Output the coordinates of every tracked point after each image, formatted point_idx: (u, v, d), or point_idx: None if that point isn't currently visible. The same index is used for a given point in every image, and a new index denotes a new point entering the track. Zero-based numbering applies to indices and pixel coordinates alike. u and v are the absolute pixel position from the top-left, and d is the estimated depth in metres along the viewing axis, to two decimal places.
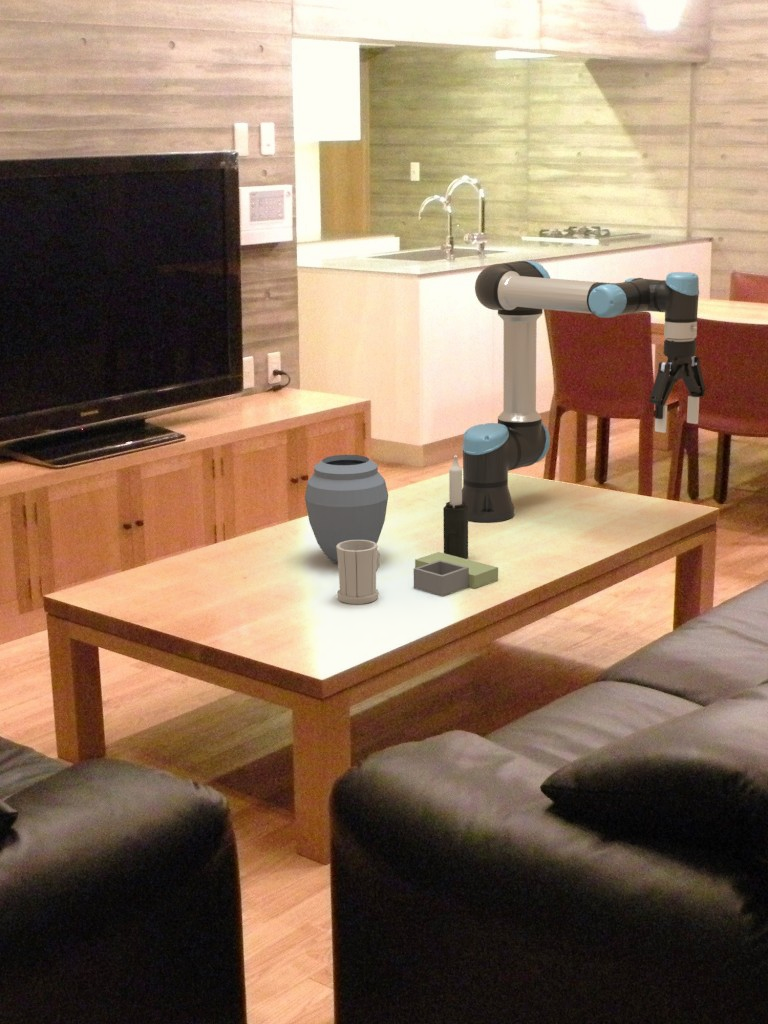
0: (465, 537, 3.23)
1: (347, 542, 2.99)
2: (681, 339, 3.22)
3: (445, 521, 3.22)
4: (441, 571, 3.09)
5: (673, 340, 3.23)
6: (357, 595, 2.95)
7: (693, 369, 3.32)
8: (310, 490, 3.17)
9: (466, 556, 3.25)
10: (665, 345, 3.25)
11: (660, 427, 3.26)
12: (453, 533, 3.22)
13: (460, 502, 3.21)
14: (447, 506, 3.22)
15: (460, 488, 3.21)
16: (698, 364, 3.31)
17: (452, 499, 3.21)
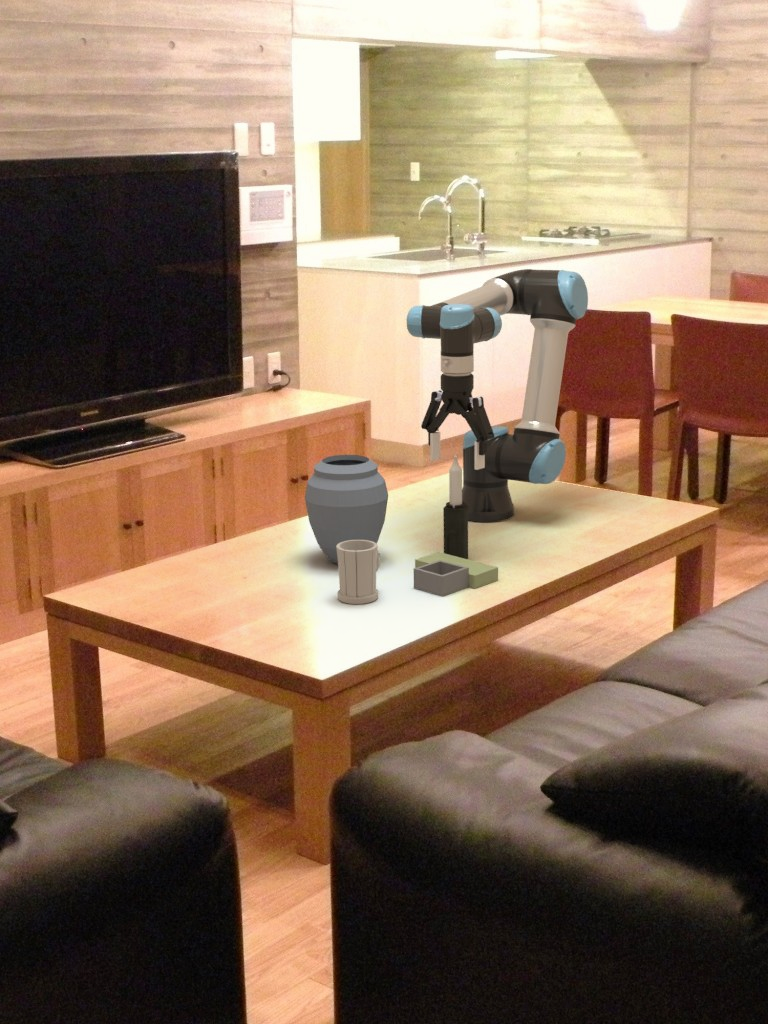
0: (465, 537, 3.23)
1: (347, 542, 2.99)
2: None
3: (445, 521, 3.22)
4: (441, 571, 3.09)
5: None
6: (357, 595, 2.95)
7: None
8: (310, 490, 3.17)
9: (466, 556, 3.25)
10: None
11: None
12: (453, 533, 3.22)
13: (460, 502, 3.21)
14: (447, 506, 3.22)
15: (460, 488, 3.21)
16: (474, 406, 3.11)
17: (452, 499, 3.21)
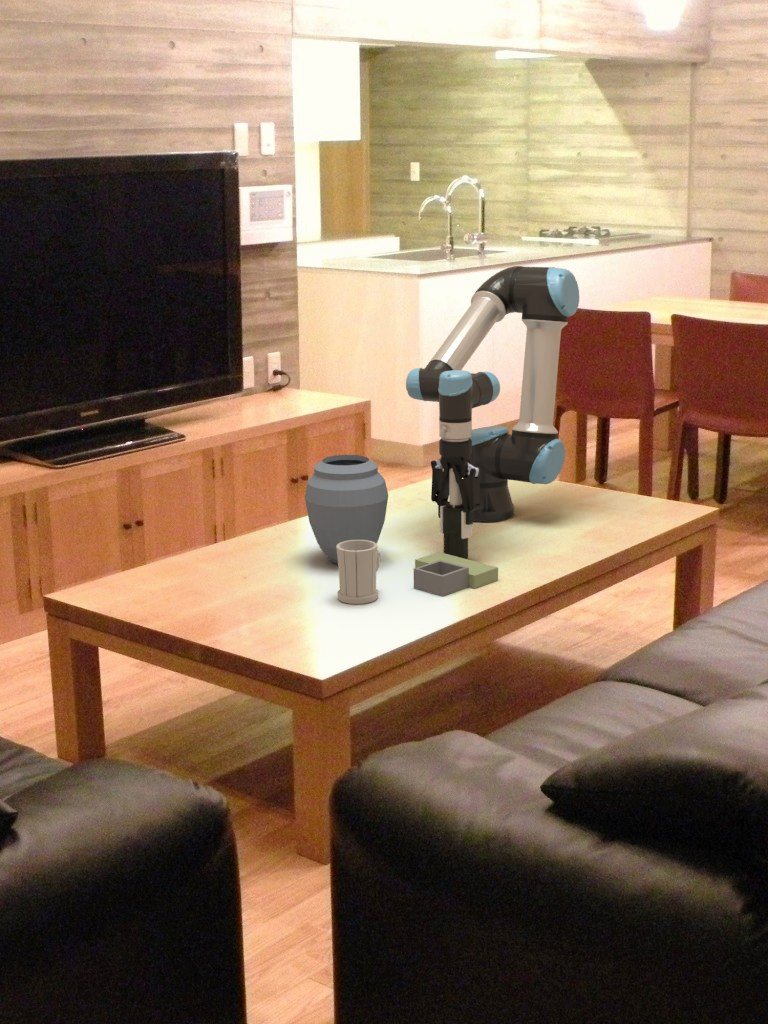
0: None
1: (347, 542, 2.99)
2: None
3: (445, 521, 3.22)
4: (441, 571, 3.09)
5: None
6: (357, 595, 2.95)
7: None
8: (310, 490, 3.17)
9: (466, 556, 3.25)
10: None
11: None
12: (453, 533, 3.22)
13: (460, 502, 3.21)
14: (447, 506, 3.22)
15: None
16: (470, 476, 3.16)
17: (452, 499, 3.21)
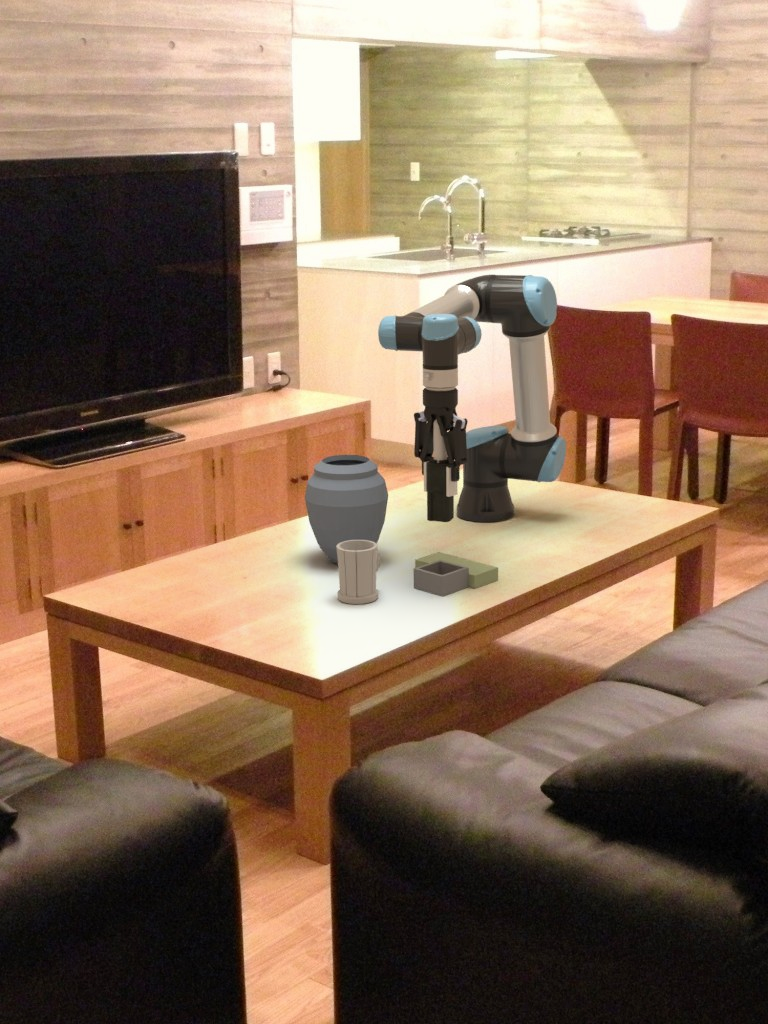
0: None
1: (347, 542, 2.99)
2: None
3: (429, 477, 2.98)
4: (441, 571, 3.09)
5: None
6: (357, 595, 2.95)
7: None
8: (310, 490, 3.17)
9: (451, 516, 3.01)
10: None
11: None
12: (437, 490, 2.98)
13: (445, 457, 2.97)
14: (431, 461, 2.97)
15: None
16: (456, 428, 2.92)
17: (436, 453, 2.97)
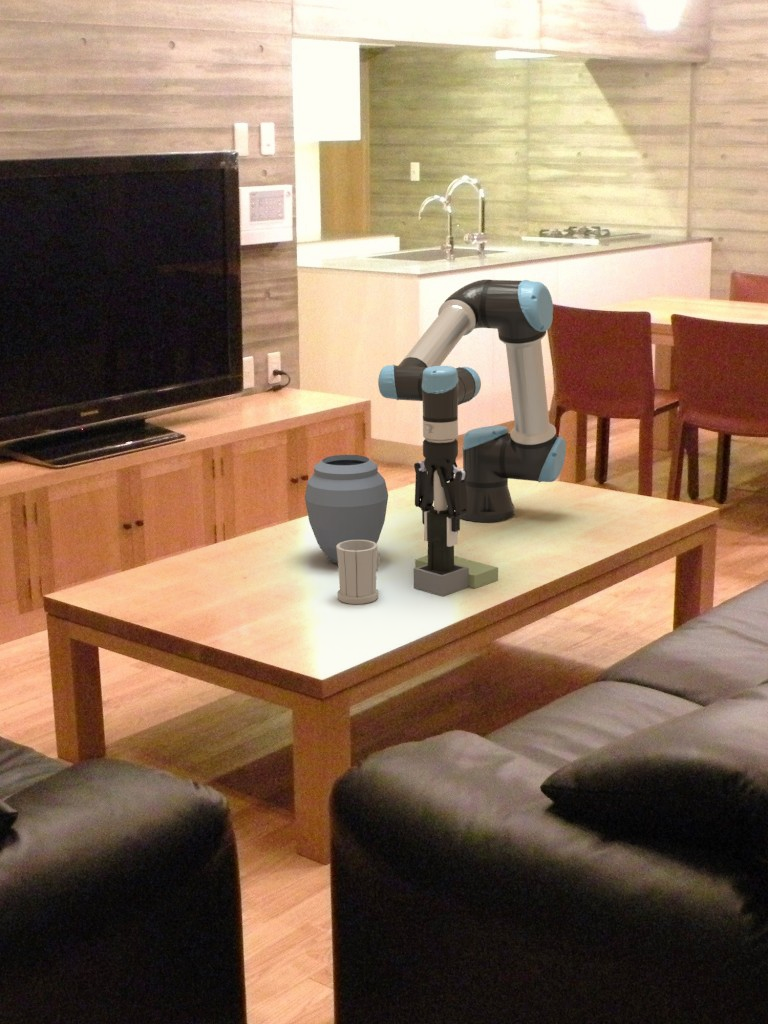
0: None
1: (347, 542, 2.99)
2: None
3: (429, 527, 3.00)
4: (441, 571, 3.09)
5: None
6: (357, 595, 2.95)
7: None
8: (310, 490, 3.17)
9: (452, 565, 3.03)
10: None
11: None
12: (438, 540, 3.00)
13: (445, 507, 2.99)
14: (431, 511, 3.00)
15: None
16: (456, 479, 2.94)
17: (436, 504, 2.99)
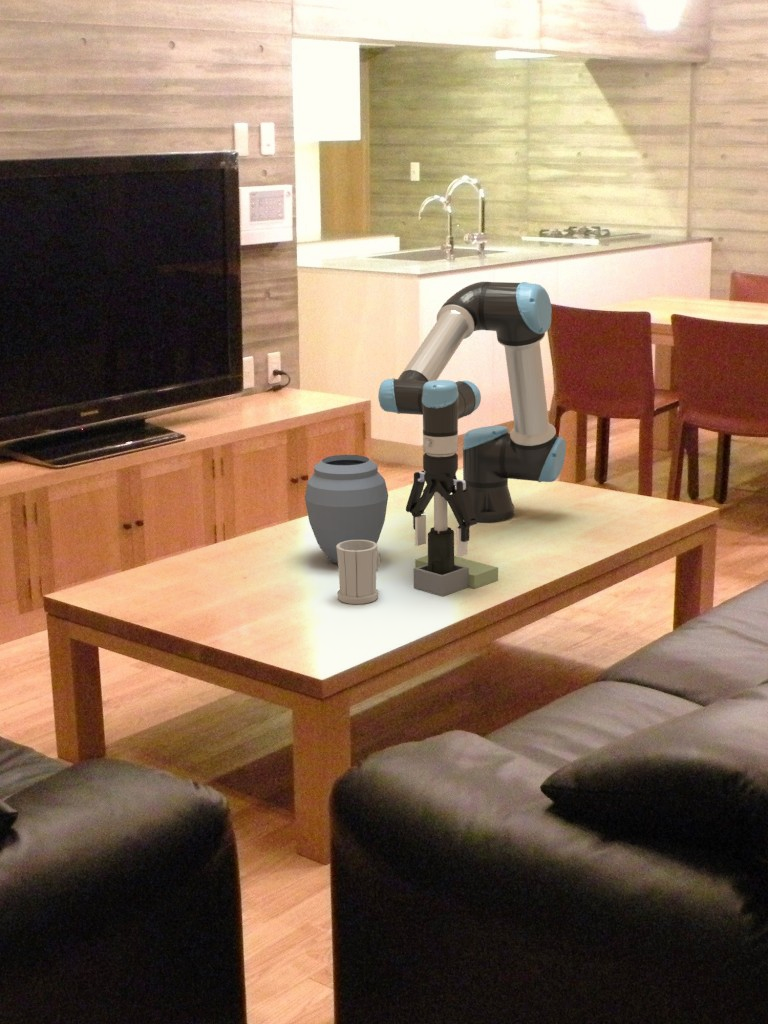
0: (451, 565, 3.02)
1: (347, 542, 2.99)
2: None
3: (429, 548, 3.01)
4: None
5: None
6: (357, 595, 2.95)
7: None
8: (310, 490, 3.17)
9: None
10: None
11: None
12: (438, 561, 3.01)
13: (445, 527, 3.01)
14: (431, 532, 3.01)
15: (445, 513, 3.00)
16: (458, 490, 2.94)
17: (437, 524, 3.00)
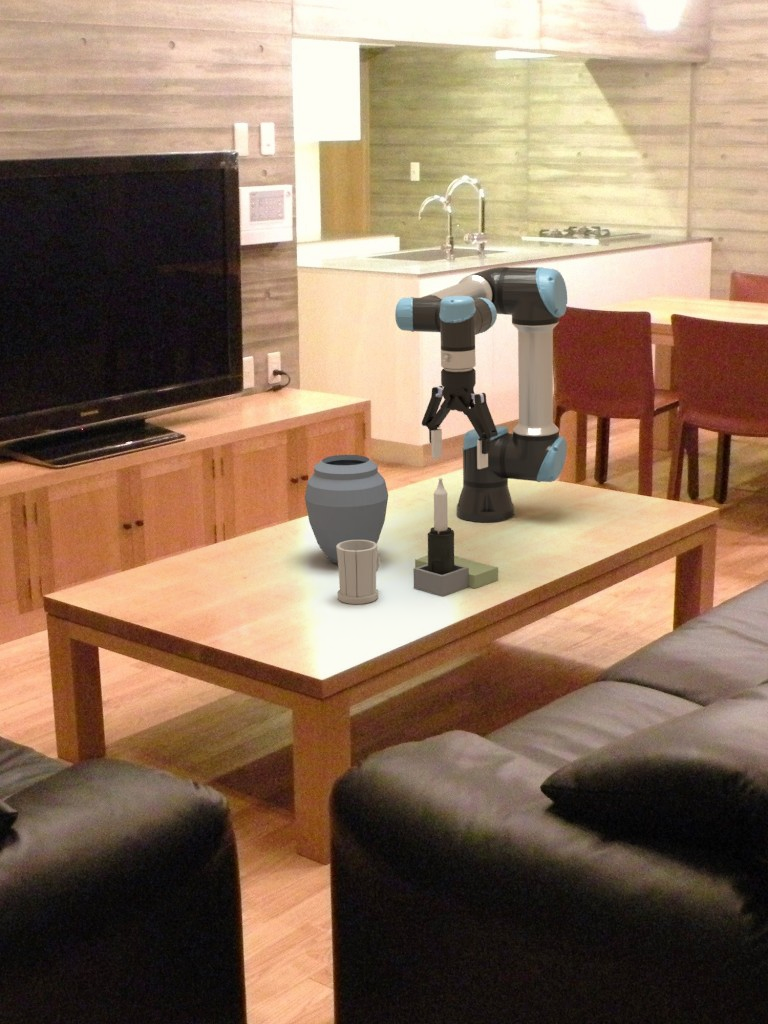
0: (451, 565, 3.02)
1: (347, 542, 2.99)
2: None
3: (429, 548, 3.01)
4: None
5: None
6: (357, 595, 2.95)
7: None
8: (310, 490, 3.17)
9: None
10: None
11: None
12: (438, 561, 3.01)
13: (445, 528, 3.01)
14: (431, 532, 3.01)
15: (445, 513, 3.00)
16: (476, 403, 2.97)
17: (437, 524, 3.00)
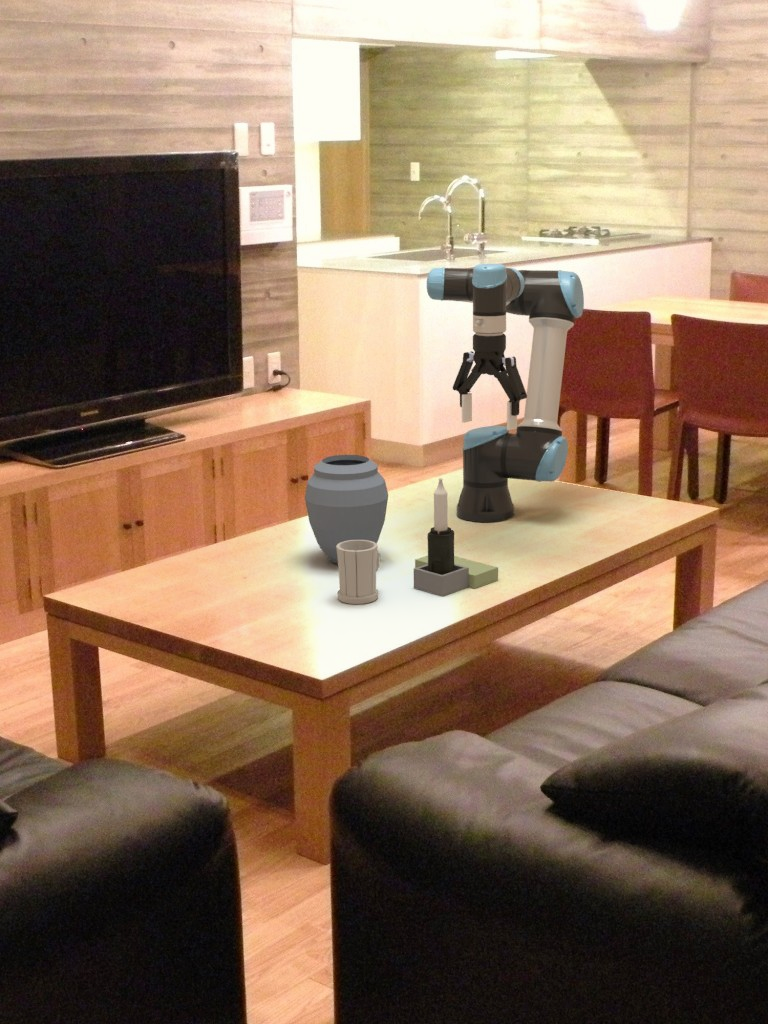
0: (451, 565, 3.02)
1: (347, 542, 2.99)
2: None
3: (429, 548, 3.01)
4: None
5: None
6: (357, 595, 2.95)
7: None
8: (310, 490, 3.17)
9: None
10: None
11: None
12: (438, 561, 3.01)
13: (445, 528, 3.01)
14: (431, 532, 3.01)
15: (445, 513, 3.00)
16: (507, 366, 3.09)
17: (437, 524, 3.00)
